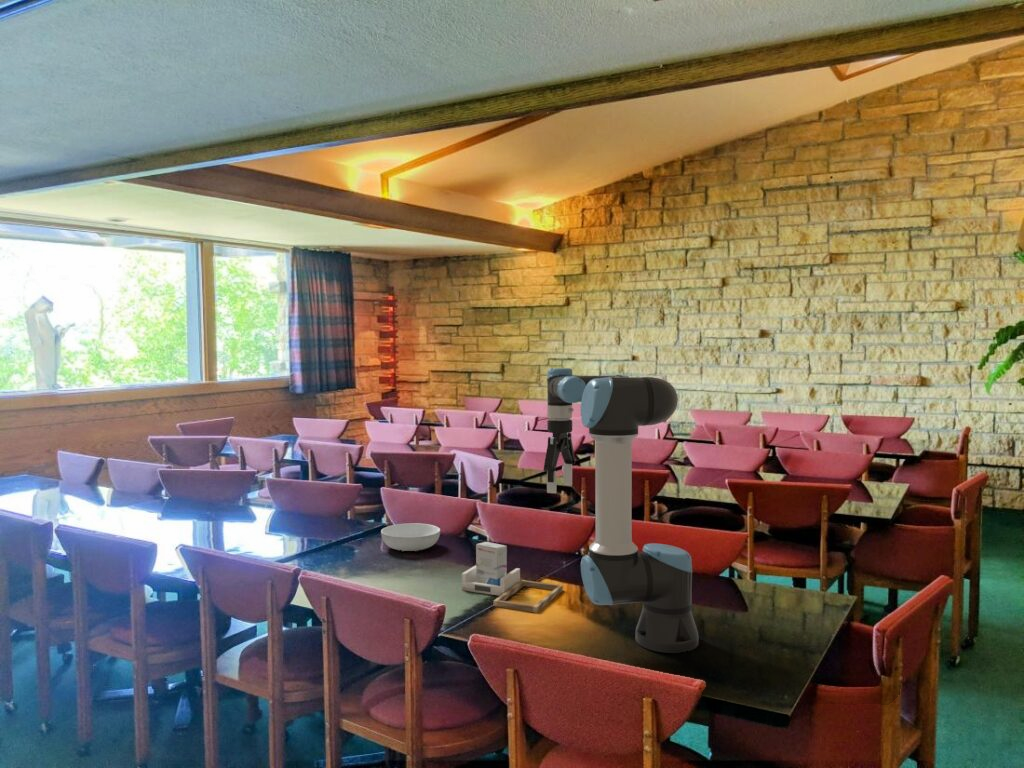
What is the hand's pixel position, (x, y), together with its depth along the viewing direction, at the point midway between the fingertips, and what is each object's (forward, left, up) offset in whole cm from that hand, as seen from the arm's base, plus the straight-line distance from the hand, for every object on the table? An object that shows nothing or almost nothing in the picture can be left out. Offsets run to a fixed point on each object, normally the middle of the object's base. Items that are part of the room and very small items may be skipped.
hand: (559, 488), depth 227 cm
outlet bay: (-13, +17, -29) cm, 36 cm away
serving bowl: (+14, +62, -29) cm, 70 cm away
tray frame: (-17, +3, -29) cm, 33 cm away
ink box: (-13, +17, -28) cm, 35 cm away
